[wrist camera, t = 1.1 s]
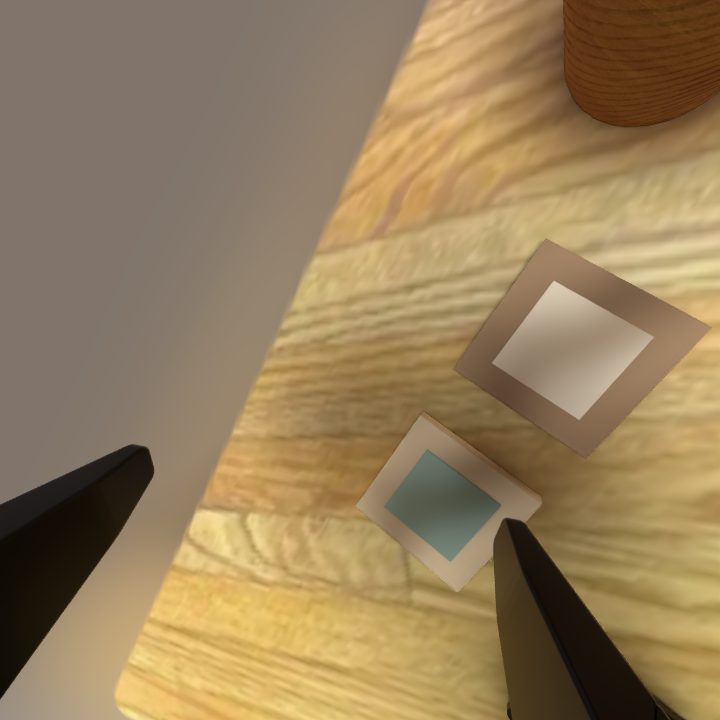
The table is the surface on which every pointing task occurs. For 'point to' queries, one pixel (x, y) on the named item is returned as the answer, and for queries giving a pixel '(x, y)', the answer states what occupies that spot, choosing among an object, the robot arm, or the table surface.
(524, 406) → the walnut marker tile
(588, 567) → the table surface
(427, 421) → the birch marker tile
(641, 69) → the disposable coffee cup
